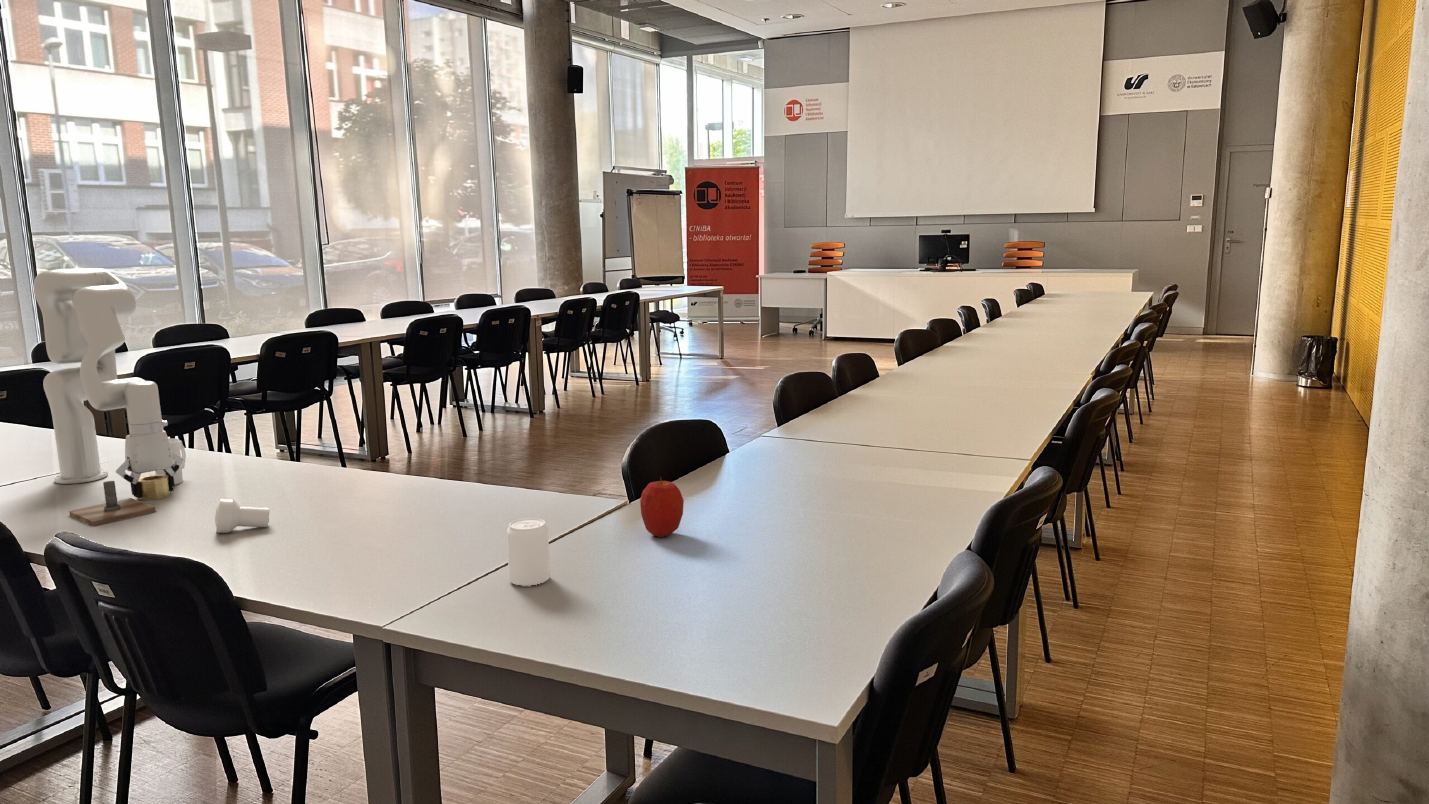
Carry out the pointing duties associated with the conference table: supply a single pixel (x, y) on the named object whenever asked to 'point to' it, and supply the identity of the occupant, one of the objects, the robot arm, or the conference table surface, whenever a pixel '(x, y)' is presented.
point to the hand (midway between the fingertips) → (153, 493)
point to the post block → (111, 508)
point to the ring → (154, 487)
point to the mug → (175, 449)
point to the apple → (661, 508)
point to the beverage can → (528, 551)
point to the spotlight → (239, 516)
